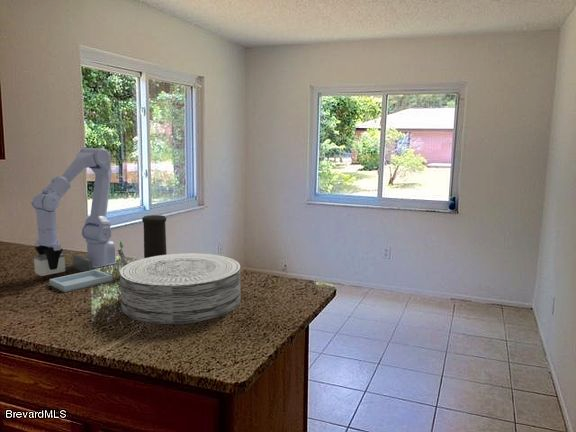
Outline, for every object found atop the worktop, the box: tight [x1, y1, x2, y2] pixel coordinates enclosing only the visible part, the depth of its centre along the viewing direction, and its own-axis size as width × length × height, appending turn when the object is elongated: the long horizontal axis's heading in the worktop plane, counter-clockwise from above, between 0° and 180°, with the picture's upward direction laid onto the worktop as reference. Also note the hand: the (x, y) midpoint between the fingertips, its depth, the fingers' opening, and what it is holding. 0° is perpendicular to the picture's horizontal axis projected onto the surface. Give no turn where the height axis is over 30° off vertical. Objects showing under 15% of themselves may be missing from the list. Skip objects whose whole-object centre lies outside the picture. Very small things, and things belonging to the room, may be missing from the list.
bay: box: [65, 254, 93, 272], centre depth 166 cm, size 11×13×5 cm
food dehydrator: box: [117, 241, 241, 325], centre depth 139 cm, size 38×34×18 cm
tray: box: [48, 269, 113, 293], centre depth 156 cm, size 16×11×2 cm
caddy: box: [33, 252, 66, 277], centre depth 161 cm, size 8×5×6 cm, turn 139°
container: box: [141, 214, 168, 259], centre depth 173 cm, size 9×9×20 cm
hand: (49, 267), depth 161 cm, fingers closed on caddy, 5 cm apart
